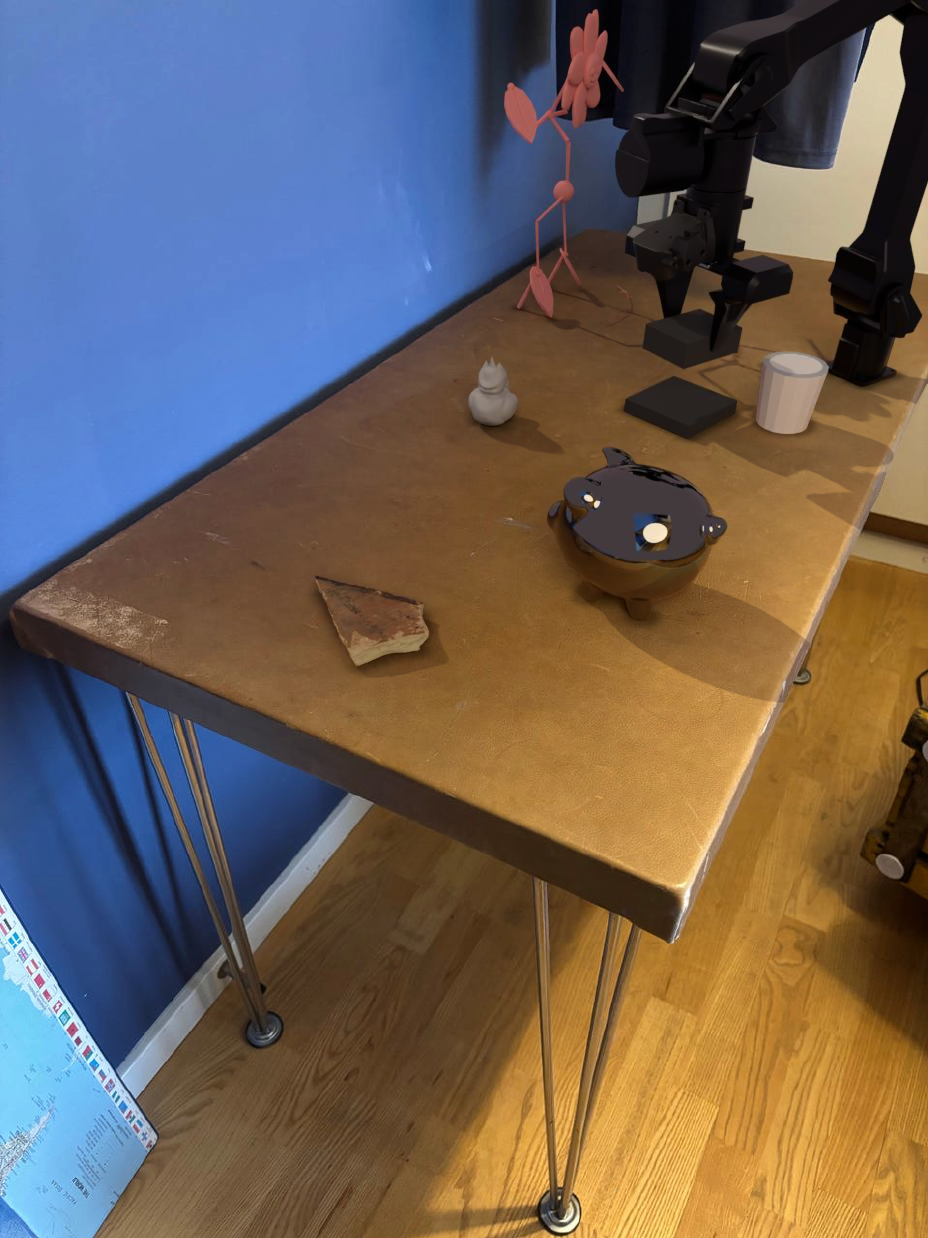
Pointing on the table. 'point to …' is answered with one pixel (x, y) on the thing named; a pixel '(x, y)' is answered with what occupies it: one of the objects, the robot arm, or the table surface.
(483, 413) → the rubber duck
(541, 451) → the table surface
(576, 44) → the figurine
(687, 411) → the base pad
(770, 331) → the table surface
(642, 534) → the piggy bank
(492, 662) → the table surface
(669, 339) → the black pad
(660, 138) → the robot arm
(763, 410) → the shot glass
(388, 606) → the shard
